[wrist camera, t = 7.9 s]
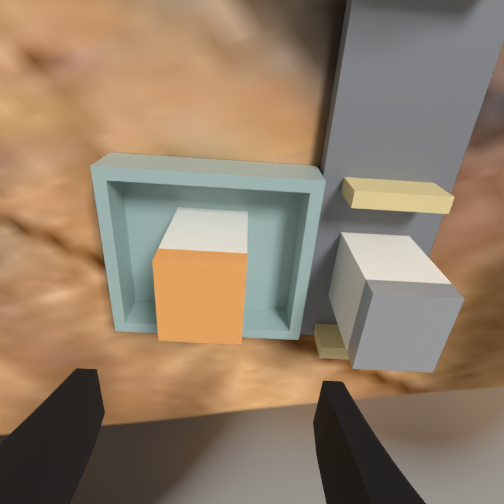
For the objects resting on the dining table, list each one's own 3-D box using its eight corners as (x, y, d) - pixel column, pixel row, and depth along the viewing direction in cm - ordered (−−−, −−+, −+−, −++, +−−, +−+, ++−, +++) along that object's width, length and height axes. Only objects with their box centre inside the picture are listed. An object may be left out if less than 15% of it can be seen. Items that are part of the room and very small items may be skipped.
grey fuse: (409, 236, 19) (464, 298, 14) (390, 298, 21) (432, 372, 16) (341, 231, 19) (373, 293, 14) (328, 295, 20) (352, 368, 16)
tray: (316, 165, 18) (326, 180, 16) (294, 312, 22) (298, 339, 20) (110, 152, 18) (90, 165, 15) (128, 303, 22) (115, 331, 20)
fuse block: (662, -481, 10) (818, -685, 7) (394, 328, 23) (413, 363, 20) (428, -512, 9) (498, -737, 7) (295, 323, 23) (301, 358, 20)
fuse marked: (247, 211, 18) (247, 265, 14) (243, 276, 20) (241, 344, 16) (177, 207, 18) (152, 260, 14) (180, 273, 20) (158, 340, 15)
